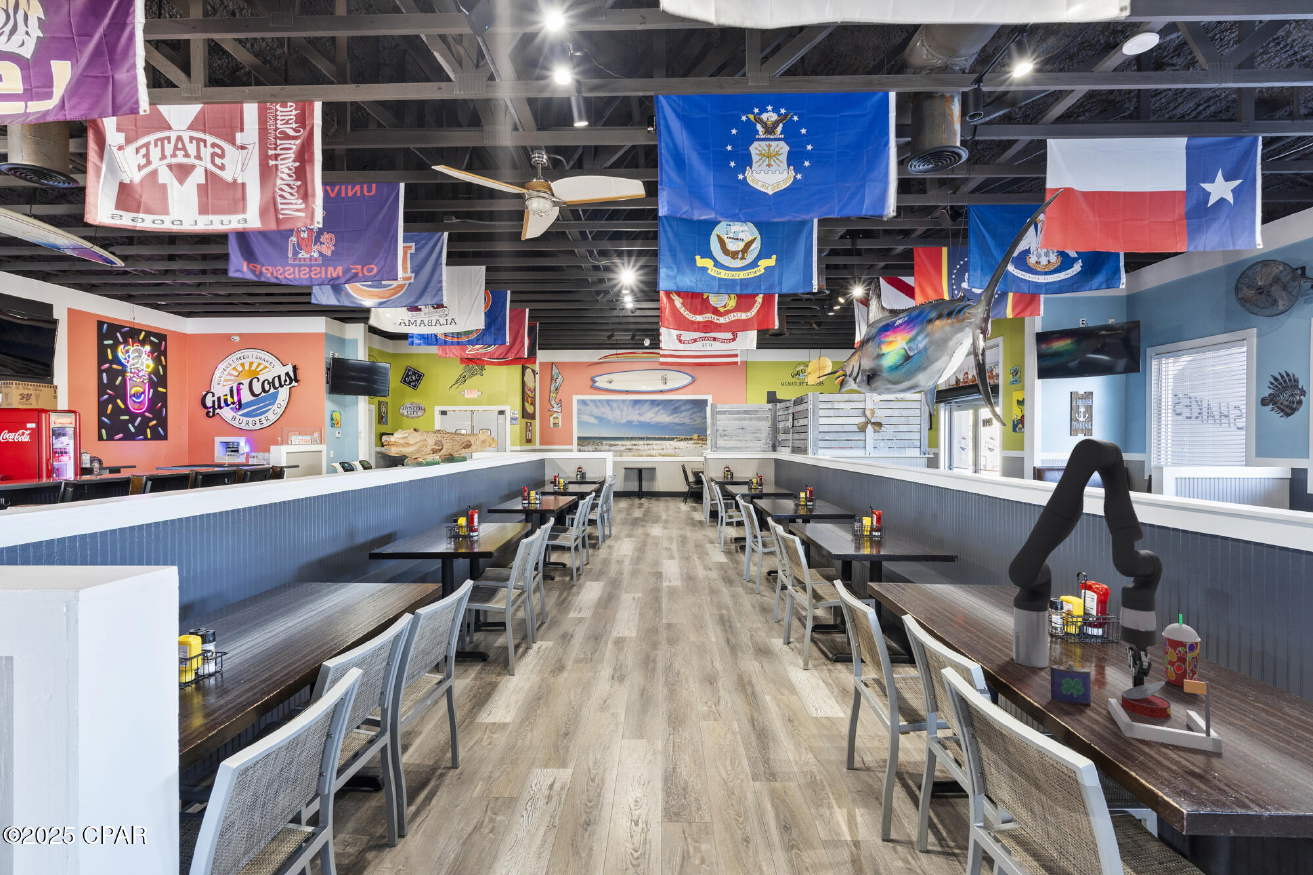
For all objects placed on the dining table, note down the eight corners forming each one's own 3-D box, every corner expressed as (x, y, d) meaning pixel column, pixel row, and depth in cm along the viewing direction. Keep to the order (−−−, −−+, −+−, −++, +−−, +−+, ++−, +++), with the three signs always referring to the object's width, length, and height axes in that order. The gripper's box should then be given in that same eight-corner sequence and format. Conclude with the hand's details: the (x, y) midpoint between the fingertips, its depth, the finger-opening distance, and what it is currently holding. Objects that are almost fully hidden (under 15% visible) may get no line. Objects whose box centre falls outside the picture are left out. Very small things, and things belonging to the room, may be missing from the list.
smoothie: (1208, 690, 164) (1207, 619, 165) (1174, 688, 166) (1173, 617, 167) (1188, 679, 173) (1187, 611, 173) (1155, 677, 174) (1154, 609, 175)
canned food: (1154, 737, 147) (1142, 704, 145) (1116, 715, 157) (1104, 684, 155) (1189, 714, 148) (1177, 682, 146) (1149, 693, 158) (1138, 663, 156)
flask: (1088, 702, 157) (1088, 661, 157) (1093, 706, 154) (1093, 665, 154) (1049, 698, 159) (1048, 658, 159) (1053, 702, 156) (1052, 662, 156)
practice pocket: (1125, 736, 138) (1124, 671, 138) (1108, 709, 152) (1107, 651, 152) (1222, 752, 130) (1220, 685, 131) (1194, 723, 144) (1193, 662, 145)
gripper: (1113, 616, 165) (1114, 678, 165) (1128, 629, 153) (1128, 696, 153) (1147, 620, 162) (1147, 682, 162) (1164, 633, 150) (1164, 701, 150)
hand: (1138, 689), depth 158 cm, fingers closed
